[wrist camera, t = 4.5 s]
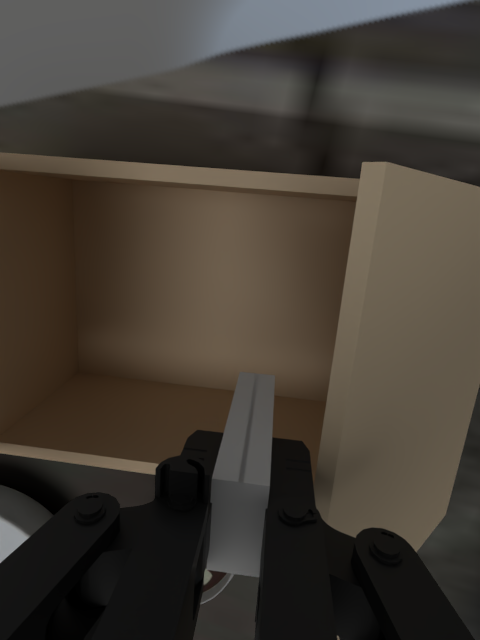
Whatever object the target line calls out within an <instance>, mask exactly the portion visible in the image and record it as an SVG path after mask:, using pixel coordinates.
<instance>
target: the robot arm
mask: <svg viewBox="0 0 480 640" xmlns="http://www.w3.org/2000/svg"><path fill="white" fill-rule="evenodd" d="M274 387H275V375H266V374H256V373H247V372H240V373H239V377H238V381H237V385H236V389H235V392H234V396H233V400H232V404H231V408H230V411H229V415H228V419H227V423H226V427H225V430H224V433H221V432H213V431H204V430H196V431H195V432H194V433H193V434H191V435H190V436H189V437H188V438H187V440H186V443H185V445H184V447H183V450H182V452H181V455H180V456H175V457H170V458H168V459H166V460H164V461H162V462H160V464H159V465H158V466H157V467H156V470H155V499H154V501H152V502H150V503H147V504H145V505H140V506H135V507H126V508H120V504H119V503H118V501H117V499H116V498H114V497H113V496H111V495H109V494H105V493H99V492H97V493H87V494H84V495H82V496H79V497H76V498H75V499H73V500H72V501H70V502H69V503H67V504H66V505H65V506H64V507H63V508H62V509H60V510H59V511H58V512H57V513H56V514H55V515H54V516H53V517H51V518H50V519H49V520H48V521H47V522H46V523H45V524H44V525H42V526H41V527H40V528H39V529H38V530H37V531H36V532H35V533H33V534H32V535H31V536H30V537H29V538H28V539H27V540H26V541H24V542H23V543H22V544H21V545H20V546H19V547H18V548H17V549H16V550H14V551H13V552H12V553H11V554H10V555H9V556H8V557H7V558H5V559H4V560H3V561H2V562H1V563H0V640H193V636H194V631H195V626H196V622H197V617H198V612H199V607H200V603H201V598H202V593H203V586H204V572H205V567H206V563H207V568H206V570H212V571H219V572H226V573H233V574H239V575H246V576H253V577H259V587H258V596H257V606H256V616H255V622H256V628H255V640H337V636H339V639H340V640H475V639H474V638H473V636H472V635H471V633H470V632H469V630H468V629H467V627H466V626H465V624H464V623H463V622H462V620H461V619H460V617H459V616H458V614H457V613H456V611H455V610H454V608H453V607H452V605H451V604H450V602H449V601H448V599H447V598H446V596H445V595H444V593H443V592H442V590H441V589H440V587H439V586H438V584H437V583H436V581H435V580H434V578H433V577H432V575H431V574H430V572H429V571H428V569H427V568H426V566H425V565H424V563H423V562H422V560H421V559H420V557H419V556H418V554H417V553H416V551H415V550H414V548H413V547H412V546H411V545H410V544H409V543H408V542H407V541H406V540H405V539H404V538H402V537H401V536H399V535H398V534H396V533H394V532H392V531H389V530H386V529H383V528H374V527H371V528H367V529H363V530H362V531H361V532H359V533H358V534H357V535H356V538H355V537H352V536H350V535H347V534H344V533H342V532H340V531H338V530H336V529H334V528H332V527H331V526H329V525H328V524H327V523H326V522H325V521H324V520H323V519H322V518H321V515H320V513H319V511H318V510H317V509H316V504H315V495H314V486H313V477H312V468H311V458H310V451H309V449H308V448H307V447H306V445H305V444H304V443H303V441H299V440H291V439H282V438H274V437H272V430H273V408H274Z"/></svg>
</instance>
